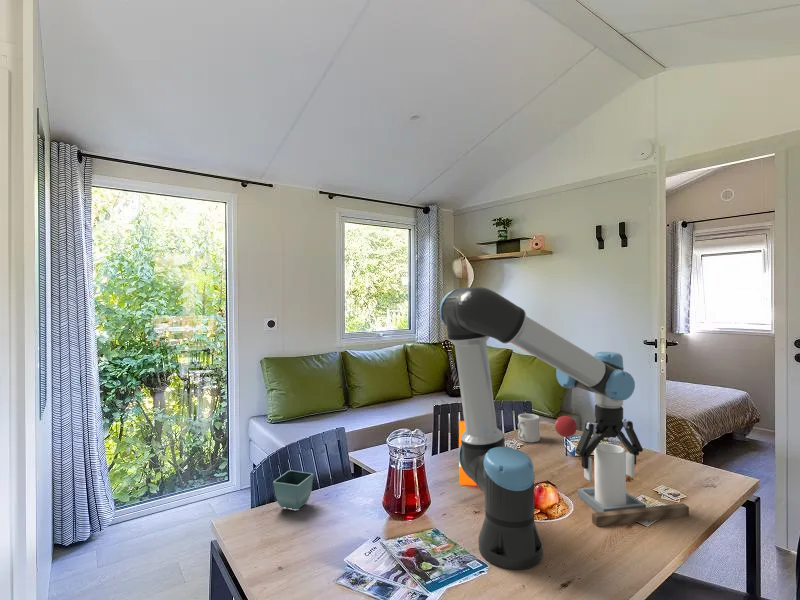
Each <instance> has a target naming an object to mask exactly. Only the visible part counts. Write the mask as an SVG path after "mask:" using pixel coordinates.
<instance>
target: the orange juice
mask: <svg viewBox="0 0 800 600" xmlns="http://www.w3.org/2000/svg"><path fill="white" fill-rule="evenodd" d="M464 431H465V423H464V420H458V448H459V447H460V445H461V444H462V443H461V435H462V434H463V433H464ZM458 466H459V467H458V468H459V469H458V471H459V475H458V476H459V485H460V486H462V485H463V486H477V487H479V486H478V485H477V484H476V483H475V482H474V481H473V480H472V479H471V478H469V477H468V476H467V475H466V473H465V472H464V471H463V469H462V467H461V465H460V462H459V461H458Z"/></svg>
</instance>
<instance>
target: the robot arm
mask: <svg viewBox="0 0 800 600" xmlns="http://www.w3.org/2000/svg"><path fill="white" fill-rule="evenodd" d="M439 317H440V319H441V321H442V322H443V324H444V325H445V326H446V333H447V340H448V341H449V342H451V344H452V345H454V352H455V359H456V367H457V373H458V374H457V375H458V382H459V389H460V390H459V391H460V398H461V405H462V406H461V407H462V413H463V414H462V415H463V421H464V423H465V431H464V433H463V434H462V435H461V443H462V444H461V445H460V447H459V446H458V451H457V452H458V454H457V456H458V463H459V462H460V465H461V467H462V469H463V471H464V472H465V473H466V475H467V476H468V477H469V478H471V479H472V480H473V481H474V482H475V483H476V484H477V485H478V486H477V485H476V486H477V487H478V488H479V489H480V490H481V491H482V492H483V493H484V509H485V511H484V512H485V514H484V520H483V523H482V526H481V529H480V532H479V534H478V551H479V553H480V555H481V556H482V558H484V560H486V561H487V562H489V563H490V564H492V565H494V566H497V567H499V568H503V569H509V570H526V569H530V568H533V567H535V566H537V565H538V564H540V563H541V561H542V560H543V555H544V552H543V551H544V550H543V542H542V539H541V536H540V533H539V531H538V528H537V525H536V521H535V520H536V519H535V478H536V476H535V470H534V463H533V461H532V459H531V458H530V456H529V455H527V454H526V453H525V452H524V451H523V450H519V449H518V448H517V449H514V447H510V446H506V443H505V442H506V441H505V435H504V432H503V431H502V430H501V429H499V428H498V427H497V418H496V417H497V416H496V410H495V401H494V393H493V385H492V378H491V368H490V361H489V353H488V345H487V342H488V340H489V339H490V338H492V339H495V340H497V341H499V343H502V344H509V343H511V345H514V346H515V347H517V348H519V349H521V350H523V351H524V352H527V353H528V354H529V355H532V356H533V357H535V358H537V359H539V360H540V361H542V362H545V364H547V365H549V366H551V367H552V368H555V369H556V370H555V371H556V374H555V376H556V380H557V382H558V384H559V385H560V387H562V388H564V389H575V388H576V389H577V388H579V389H581V390H584V391H588V392H589V393H590V392H591V393H594V403H595V405H594V417H595V422H589V421H585V422H584V430H583V432H582V435H581V437H580V438H579V441H578V443H577V445H576V448H575V450H574V453H575V454H576V455H578V456H580V457H581V468H583V478H584V479H586V480H587V481H589V482H592V480H593V477H592V476H593V473H592V472H593V469H592V467H593V465H592V464H593V463H592V462H593V459H592V457H590V456H591V455H592V454H593V453H594V450H595V448H596V447H597V445H598V444H601V441H603V440H604V439H610V438H617V439H618V440H619V442H621V444H622V445H623V446H624V448H625V449H626V450H627V451H625V473H626V475H627V476H629V477H630V478H635V465H636V464H637V456H639V455H640V453H642V452H643V451H644V449H643V446H642V444H641V443H640V440H639V438H638V435H637V433H636V432H635V430H634V424H633V422H632V421H631V420H628V419H626V418H624V407H623V405H624V401H625V400H628V399H629V398H630V397H631V396H632V395H633V394H634V391H635V389H636V383H635V379H634V377H633V376H632V375H631V374H630V373H629V372H627V371H625V370H624V369H625V368H624V360H623V356H622V354H620V353H618V352H614V351H598V352H597V351H596V352H595V353H594V355H592V354H590V353H589V352H587V351H586V350H584V349H582V348H581V347H579V346H577V345H575V344H574V343H572V342H570V341H569V340H567V339H565V338H564V337H562V336H561V335H559V334H557V333H556V332H554V331H552V330H550V329H549V328H547V327H545V326H543V325H542V324H540V323H539V322H538V321H535V320H533V319H531V318H530V317H528V316H527V313H526V311H525V310H524V309H523V308H522V307H520V306H518V305H516V304H515V303H513V302H512V301H510V300H509V299H507V298H506V297H504V296H503V295H501V294H499V293H497V292H495V291H494V290H491V289H490V288H486V287H482V286H475V287H468V286H467V287H459V288H455V289H453V290H450V291H449V292H448V293H446V294H445V296H444V297H443V298H442V300H441V301H440V305H439ZM622 429H624V431H625V432H626V434H627V436H628V438H627V437H626V435H625V434H624V432H623V431H622ZM628 439H629V440H628Z"/></svg>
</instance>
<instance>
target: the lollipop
mask: <svg viewBox="0 0 800 600" xmlns="http://www.w3.org/2000/svg"><path fill="white" fill-rule="evenodd" d="M554 428H555V431H556V432H557V434H558V435H560V436H561V437H563V438H565V439H564V440H565V456H568V439H567V438H571V437H573V436H574V435H575V434H576V432H577V428H578V426H577V423H576V421H575V420H574V418H573V417H571V416H568V415H562V416H559V417H557V418H556V420H555V423H554Z"/></svg>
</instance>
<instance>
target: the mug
mask: <svg viewBox="0 0 800 600" xmlns="http://www.w3.org/2000/svg"><path fill="white" fill-rule="evenodd" d="M517 418H518V423H517V429H518V432H517V437H518V439H519V441H521V442H524V443H531V444H532V443H537V442H540V440H541V434H540V416H539V415H537V414H534V413H520V414H518V415H517Z"/></svg>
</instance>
